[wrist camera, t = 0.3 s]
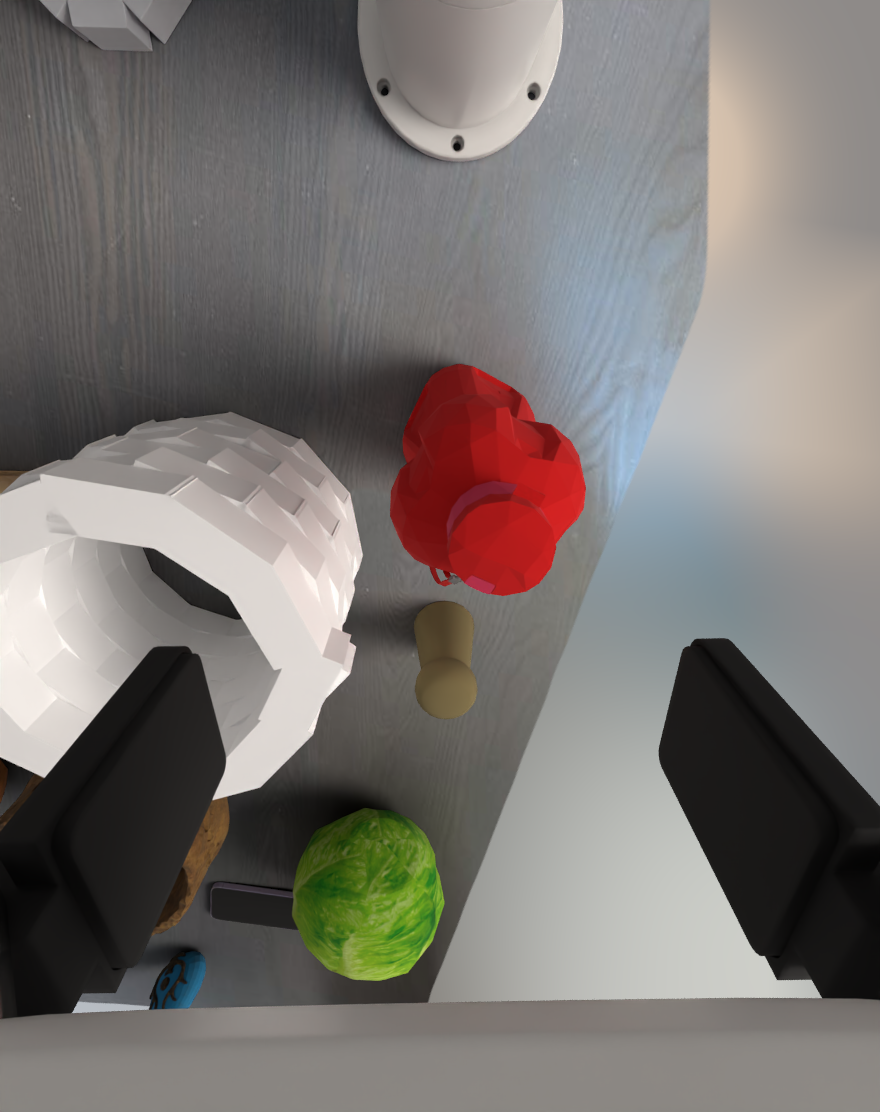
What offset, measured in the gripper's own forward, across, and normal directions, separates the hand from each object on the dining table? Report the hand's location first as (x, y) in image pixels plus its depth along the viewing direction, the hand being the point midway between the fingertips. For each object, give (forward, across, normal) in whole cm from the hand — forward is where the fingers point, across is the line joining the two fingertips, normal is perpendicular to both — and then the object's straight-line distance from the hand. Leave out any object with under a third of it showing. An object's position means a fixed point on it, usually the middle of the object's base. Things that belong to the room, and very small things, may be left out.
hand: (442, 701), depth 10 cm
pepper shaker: (+35, -1, +22) cm, 42 cm away
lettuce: (+35, +8, +52) cm, 64 cm away
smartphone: (+35, +24, +66) cm, 78 cm away
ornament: (+35, +37, +78) cm, 93 cm away
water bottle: (+36, -2, +3) cm, 36 cm away
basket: (+36, +18, +12) cm, 42 cm away
